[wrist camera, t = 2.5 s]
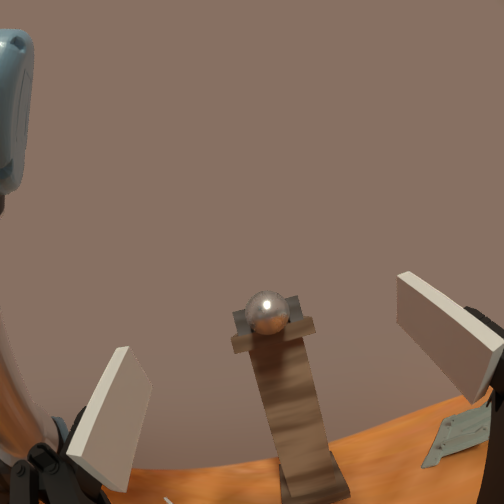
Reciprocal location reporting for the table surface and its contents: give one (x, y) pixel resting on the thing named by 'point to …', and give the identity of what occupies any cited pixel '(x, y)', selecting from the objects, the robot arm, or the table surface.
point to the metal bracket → (460, 433)
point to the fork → (167, 500)
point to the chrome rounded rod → (267, 312)
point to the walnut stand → (292, 408)
